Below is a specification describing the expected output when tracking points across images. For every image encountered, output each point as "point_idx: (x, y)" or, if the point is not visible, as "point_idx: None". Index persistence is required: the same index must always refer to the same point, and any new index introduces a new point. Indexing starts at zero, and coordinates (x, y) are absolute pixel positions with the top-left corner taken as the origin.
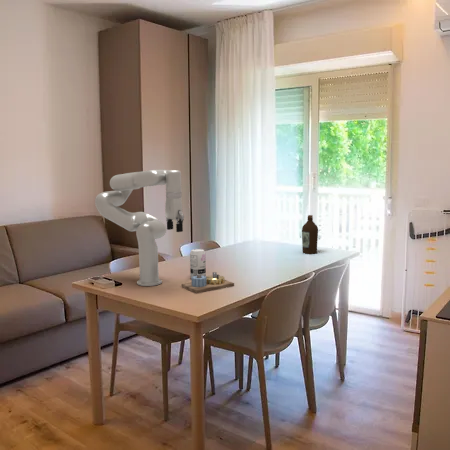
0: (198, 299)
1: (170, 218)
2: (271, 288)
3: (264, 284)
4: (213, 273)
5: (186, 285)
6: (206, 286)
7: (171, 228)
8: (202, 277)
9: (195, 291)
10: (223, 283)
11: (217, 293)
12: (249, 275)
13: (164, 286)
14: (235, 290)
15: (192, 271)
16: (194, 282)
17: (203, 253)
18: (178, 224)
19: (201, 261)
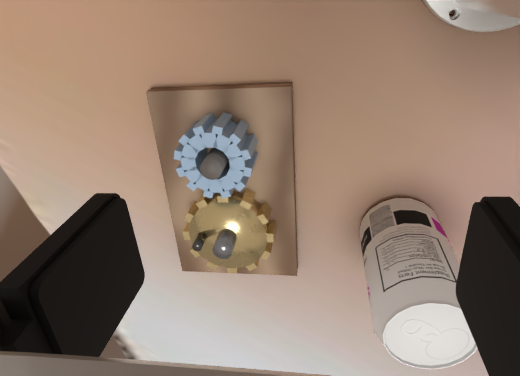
0: (58, 50)
1: (118, 370)
2: None
3: (160, 339)
4: (217, 242)
5: (250, 95)
6: None
7: (465, 273)
8: (201, 176)
9: (152, 89)
10: None
11: (116, 163)
12: (294, 372)
13: (361, 2)
14: None
15: (398, 217)
16: (198, 122)
17: (375, 333)
18: (4, 306)
19: (367, 284)
